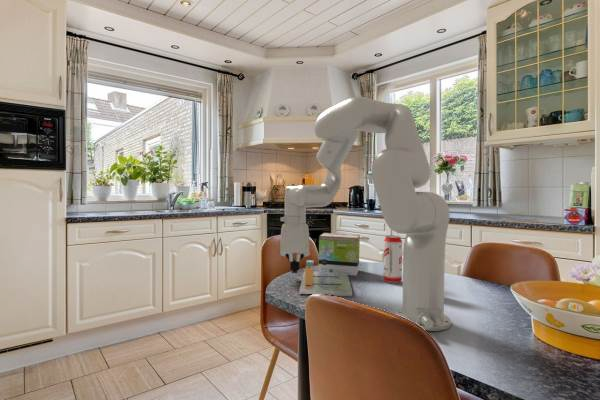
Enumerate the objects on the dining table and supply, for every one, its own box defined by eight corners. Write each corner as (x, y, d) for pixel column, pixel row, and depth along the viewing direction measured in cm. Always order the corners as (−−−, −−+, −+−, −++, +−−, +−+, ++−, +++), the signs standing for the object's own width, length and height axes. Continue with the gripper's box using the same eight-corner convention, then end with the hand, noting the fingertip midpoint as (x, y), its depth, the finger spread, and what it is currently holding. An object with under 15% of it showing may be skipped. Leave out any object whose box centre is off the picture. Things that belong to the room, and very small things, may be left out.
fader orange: (312, 285, 110) (313, 269, 110) (305, 284, 110) (305, 269, 110) (313, 281, 114) (313, 266, 114) (305, 281, 114) (305, 266, 114)
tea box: (318, 273, 132) (318, 235, 132) (322, 268, 142) (322, 232, 142) (357, 276, 129) (358, 236, 128) (359, 270, 138) (360, 233, 138)
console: (352, 296, 104) (352, 290, 104) (299, 294, 105) (299, 289, 105) (346, 276, 128) (346, 272, 128) (303, 275, 129) (303, 271, 129)
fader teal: (313, 277, 120) (313, 262, 120) (306, 277, 120) (306, 262, 120) (313, 274, 124) (313, 260, 124) (306, 274, 124) (306, 260, 124)
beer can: (399, 279, 124) (400, 235, 124) (403, 284, 118) (404, 237, 117) (382, 279, 125) (382, 235, 124) (384, 283, 118) (385, 237, 118)
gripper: (272, 221, 119) (272, 274, 119) (316, 221, 118) (315, 275, 118) (275, 219, 126) (275, 269, 127) (316, 220, 125) (316, 270, 126)
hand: (294, 272), depth 122 cm, fingers closed
